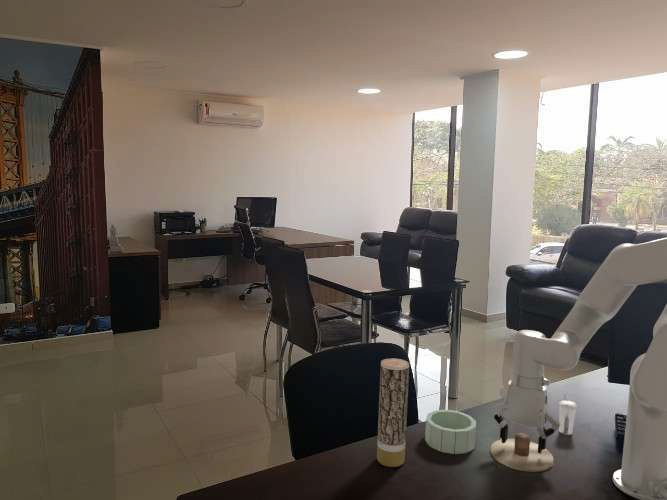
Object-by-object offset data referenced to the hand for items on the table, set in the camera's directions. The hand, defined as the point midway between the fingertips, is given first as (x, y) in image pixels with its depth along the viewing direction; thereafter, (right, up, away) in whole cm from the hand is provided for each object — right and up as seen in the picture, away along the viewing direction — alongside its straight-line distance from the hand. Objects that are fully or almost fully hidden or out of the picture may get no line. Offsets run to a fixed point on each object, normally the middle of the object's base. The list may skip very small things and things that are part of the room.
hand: (522, 445), depth 133 cm
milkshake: (+17, -2, +14) cm, 23 cm away
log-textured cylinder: (-34, -2, -4) cm, 34 cm away
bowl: (-17, -1, +7) cm, 18 cm away
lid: (0, -3, 0) cm, 3 cm away
